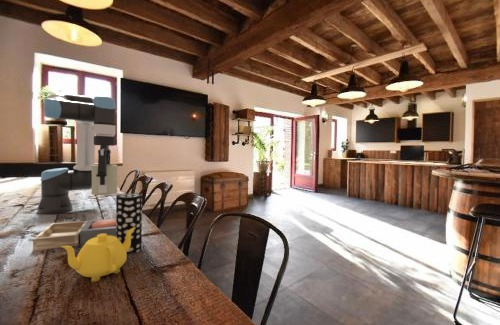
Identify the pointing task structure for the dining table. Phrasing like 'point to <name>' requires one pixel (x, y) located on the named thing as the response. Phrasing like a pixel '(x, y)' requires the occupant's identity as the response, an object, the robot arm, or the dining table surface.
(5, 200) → the dining table surface
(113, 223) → the pad
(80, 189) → the robot arm
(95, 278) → the teapot
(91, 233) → the grey square tray
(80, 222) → the wooden tray
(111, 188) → the can
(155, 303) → the dining table surface
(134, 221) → the spotted tube
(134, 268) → the dining table surface
